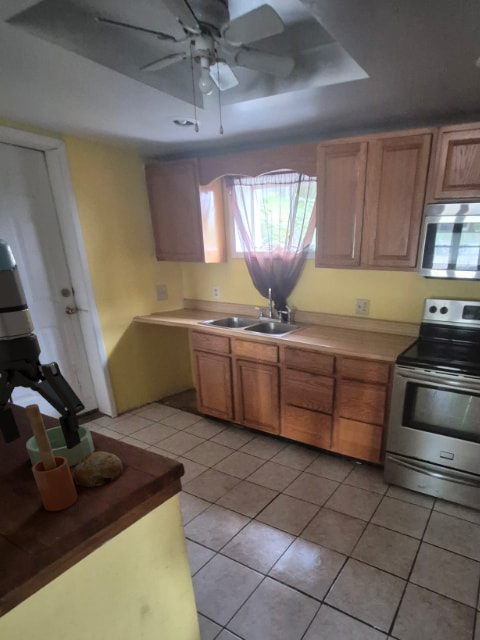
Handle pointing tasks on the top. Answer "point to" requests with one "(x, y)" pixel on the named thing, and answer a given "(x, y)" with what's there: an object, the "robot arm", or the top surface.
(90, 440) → the bowl
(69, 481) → the crock
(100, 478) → the bread roll
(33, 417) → the stirring stick
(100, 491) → the top surface
